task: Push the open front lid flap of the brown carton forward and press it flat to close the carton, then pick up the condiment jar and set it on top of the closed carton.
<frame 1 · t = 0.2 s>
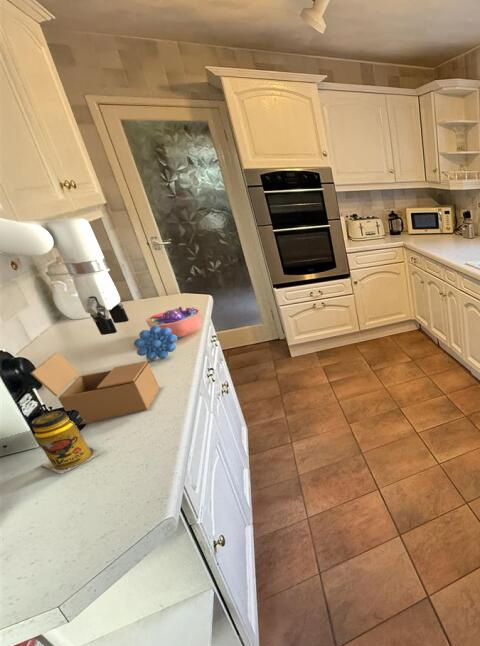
hand: (115, 327, 110), 20 cm above the countertop, tool pointing down, fingers open, 9 cm apart
flap: (56, 373, 102), point 13 cm above the countertop, hinge at 105.0°
carton: (120, 405, 110), on the countertop
condiment: (73, 460, 90), on the countertop
cell model: (181, 335, 157), on the countertop
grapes: (163, 357, 138), on the countertop
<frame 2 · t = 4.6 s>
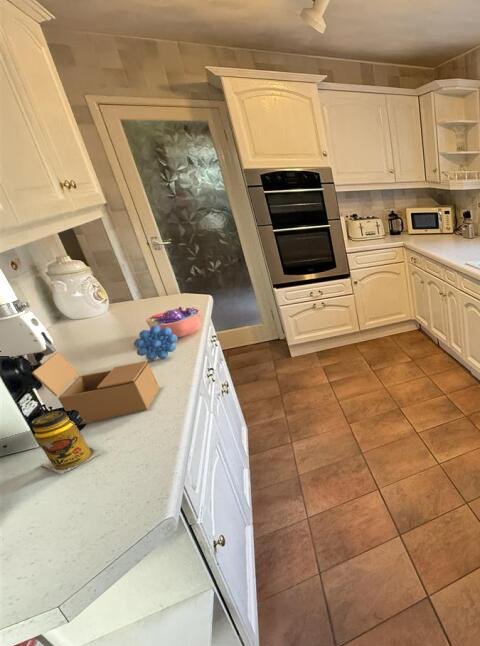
hand: (38, 378, 100), 12 cm above the countertop, tool pointing down, fingers closed
flap: (57, 373, 102), point 13 cm above the countertop, hinge at 103.5°, touching gripper
everything else where it was.
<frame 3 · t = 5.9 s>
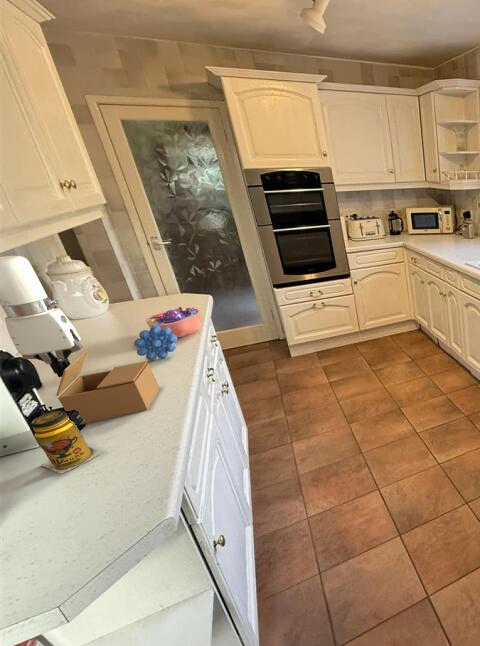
hand: (65, 374, 103), 12 cm above the countertop, tool pointing down, fingers closed
flap: (72, 372, 103), point 12 cm above the countertop, hinge at 58.8°, touching gripper
everything else where it was.
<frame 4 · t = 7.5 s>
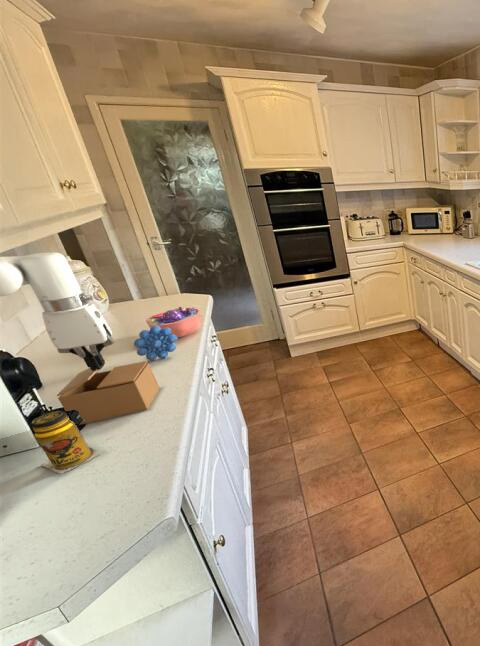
hand: (98, 367, 105), 12 cm above the countertop, tool pointing down, fingers closed
flap: (83, 376, 104), point 11 cm above the countertop, hinge at 22.0°
everything else where it was.
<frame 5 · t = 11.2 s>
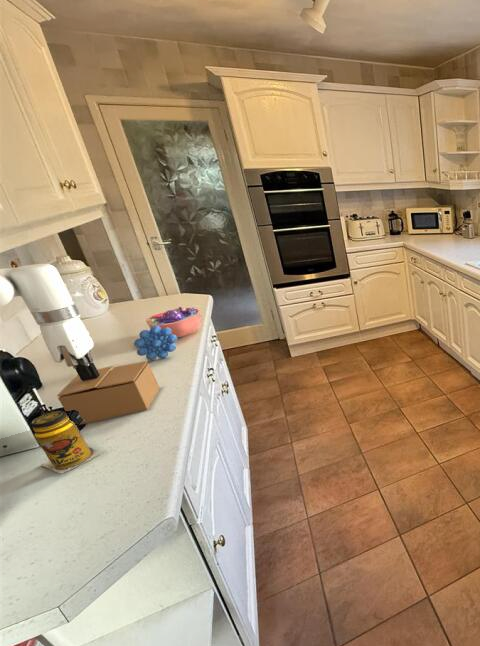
hand: (91, 378, 105), 10 cm above the countertop, tool pointing down, fingers closed
flap: (87, 380, 105), point 9 cm above the countertop, hinge at 2.9°
everything else where it was.
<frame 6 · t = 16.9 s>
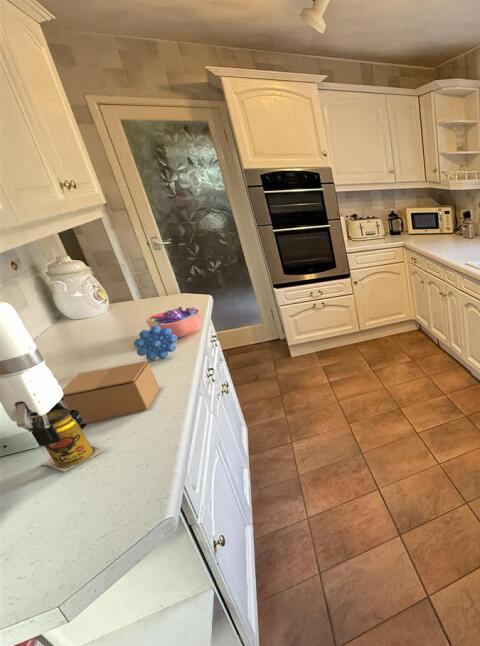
hand: (58, 433, 87), 7 cm above the countertop, tool pointing down, fingers closed on condiment, 6 cm apart
flap: (87, 381, 105), point 9 cm above the countertop, hinge at -0.3°
condiment: (75, 458, 91), on the countertop, touching gripper
everything else where it was.
when the fingers open (17 cm above the countertop, at t = 22.5 s): condiment stays where it is, resting on carton, flap.
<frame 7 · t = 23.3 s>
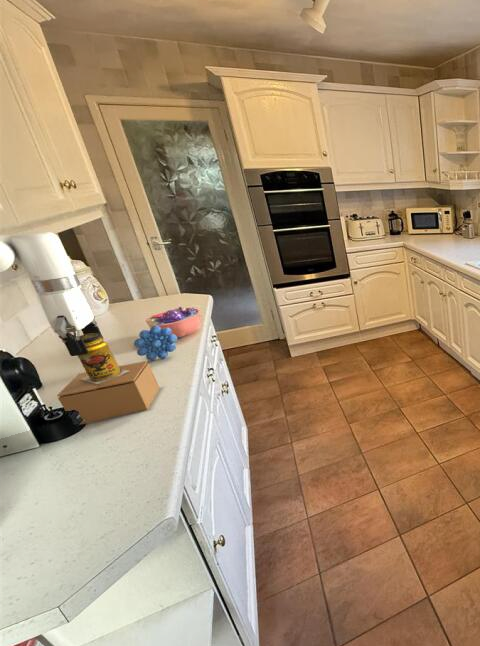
hand: (88, 347, 103), 18 cm above the countertop, tool pointing down, fingers open, 9 cm apart
flap: (87, 381, 105), point 9 cm above the countertop, hinge at -0.4°, touching condiment
condiment: (105, 376, 107), point 9 cm above the countertop, touching carton, flap
everything else where it was.
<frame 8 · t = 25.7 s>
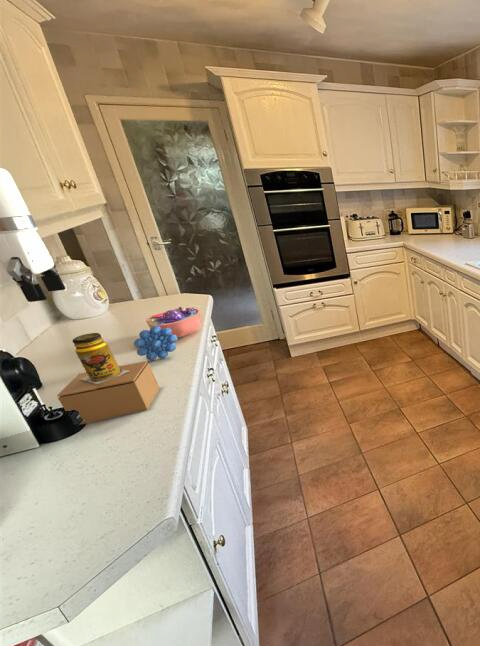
hand: (48, 295, 98), 32 cm above the countertop, tool pointing down, fingers open, 9 cm apart
nothing on the countertop moved.
at the end: flap at +0° (first picture: +105°); condiment inside the target area on the carton (0.7 cm from its centre), point 9.1 cm above the carton's base; condiment tilted 0° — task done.
